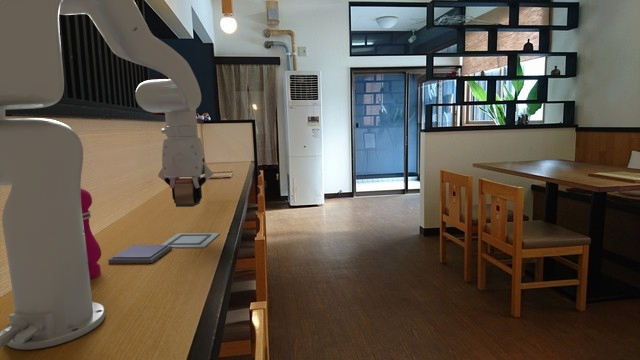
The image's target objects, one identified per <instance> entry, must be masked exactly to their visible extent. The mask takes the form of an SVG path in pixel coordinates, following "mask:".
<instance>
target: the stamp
mask: <svg viewBox="0 0 640 360" xmlns="http://www.w3.org/2000/svg"><path fill="white" fill-rule="evenodd" d="M194 186H195V185H194V182H193V179H192V177H180V179H177V180H176V184H174V189H175V203H174V204H175V208H185V207H186V208H187V207H188V208H189V207H190V208H191V207H196V206H197V205H199V204H200V203H201V201H200V202H198V203H194V194H193V188H195V187H194Z"/></svg>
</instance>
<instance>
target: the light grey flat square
mask: <svg viewBox="0 0 640 360" xmlns="http://www.w3.org/2000/svg"><path fill="white" fill-rule="evenodd" d="M219 235H220V233H219V232H209V233H208V232H204V233H203V232H199V233H198V232H197V233H195V232H193V233H191V232H190V233H187V232H183V233H179V232H178V233H177V234H175V235H173V236H172V237H170V238H169V239H167V240H166V241H164V242H163V243H161V244H160V245H171V249H184V248H186V249H188V248H189V249H197V248H198V249H201V248H202V249H203V248H206V247H207V246H208V245H209V244H211V242H212V241H213V240H214V239H216V238H217V237H218V236H219Z"/></svg>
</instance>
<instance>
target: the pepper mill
mask: <svg viewBox="0 0 640 360" xmlns="http://www.w3.org/2000/svg"><path fill="white" fill-rule="evenodd" d="M92 204H93V197H92V195H91V193H90V192H89V191H88V190H86V189H84V188H81V207H82V217H83V225H84V233H85V242H86V251H87V259H88V268H89V277H90V280H91V279H94V278H96V277H98V276H99V275H101V271H102V270H101V264H100V263H98V262H99V261H100V259H101V258H102V249H101V247H100V244H99V242H98V241H97V240H96V238H95V236H94V234H93V233H92V230H91V228H90V218H91V217H92V215H91V210H89V209H90V208H91V206H92Z"/></svg>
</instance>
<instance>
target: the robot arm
mask: <svg viewBox="0 0 640 360" xmlns="http://www.w3.org/2000/svg"><path fill="white" fill-rule="evenodd" d="M60 15H61V16H62V15H63V16H68V15H69V16H71V15H87V16H89V18H90V19H91V21H92V22H93V24H94V25H95V27H96V28H97V30H98V32H99V33H100V34H101V36H102V38H103V39H104V41H105V43H107V45H108V47H109V48H110V50H111V52H113V54H114V55H116V56H117V57H119V58H121V59H123V60H125V61H129V62H130V63H131V62H132V63H134V64H136V65H140V66H142V67H146V68H149V69H151V70H155V71H156V72H158V73H161V74H163V75H164V76H166V77H167V78H168V79H166V78H164V79H150V80H149V79H148V80H145V81H143V82H141V83H139V84H138V86H137V88H136V90H135V100H136V103H137V105H138V106H139V107H140V108H141V109H143V110H144V111H146V112H149V113H157V114H159V113H164V117H165V126H164V127H165V128H161V134H162V135H165V136H166V138H163V142H162V149H161V150H162V151H161V152H162V154H161V157H162V158H161V164H162V165H161V167H162V168H161V170H160V171H159V172H158V174H157V177H158V178H159V179H160V180H162V181H164V182H165V183H166V184H167V185H168V186H169V188H170V189H171V194H172V200H173V204H176V203H175V189H174V184H176V180H177V179H181V178H192V179H193V182H194V185H195V186H194V187H195V188H193V194H194V203H198V202H200V203H201V200H202V199H203V192H202V186H204V184H205V183H206V182H207V181H208V180H209V179H210V178H212V177H213V176H214V173H213V171H212V170H211V168H209V166H208V165H207V162H206V157H205V151H204V145H203V142H202V139H201V137H199V134H198V132H199V131H198V123H197V122H198V120H197V109H198V108H199V107H200V105H201V102H202V92H201V88H200V86H199V85H200V84H199V83H198V80H197V78H196V76H195V74H194V72H193V70H192V68H191V66H190V64H189V62H188V61H187V60H186V59H185V58H184V57H183V56H182V55H181V54H179V52H177V51H176V50H175V49H173V47H171V46H169V45H168V44H167V43H165V42H164V41H162V40H161V39H160V38H158V37H156V36H155V35H154V34H153V33H152V31H151V30H150V27H149V26H148V24H147V22H146V20H145V19H144V17H143V15H142V12H141V11H140V9H139V7H138V5H137V4H136V2H135V0H0V186H11V187H10V192H9V194H8V196H7V199H6V201H5V204H4V206H3V209H2V214H1V215H2V216H1V221H2V222H1V223H2V225H1V226H2V233H3V236H4V243H5V251H6V256H7V263H8V269H9V271H8V272H9V277H10V283H11V284H10V285H11V290H12V291H11V292H12V298H13V305H14V312H12V313H10V314H9V321H10V322H9V323H7V324H6V326H5V328H4V329H1V330H0V349H1V348H3V347H5V346H6V345H7V346H8V347H9V348H12V349H15V350H21V351H22V350H38V349H44V348H49V347H53V346H57V345H62V344H64V343H67V342H69V341H73V340H75V339H77V338H80V337H82V336H83V335H85V334H88V333H90V332H91V331H93V330H94V329H96V328H97V327H98V326H99V325H100V324H101V323H102V322H103V321H104V319H105V317H106V309H105V306H103V304H101V303H98V302H95V301H93V297H92V295H93V294H92V288H91V279H90V277H89V268H88V259H87V251H86V242H85V233H84V225H83V217H82V207H81V189H82V188H81V187H82V186H81V184H82V174H83V173H82V172H83V163H84V147H83V143H82V140H81V138H80V137H79V135H78V134H77V133H76V131H75V130H73V129H74V128H71V127H70V126H69V125H67V124H66V123H63V122H60V121H57V120H55V119H49V118H41V117H40V118H39V117H38V118H37V117H35V118H34V117H32V118H31V117H28V118H27V117H26V118H25V117H24V118H6V110H26V109H28V110H29V109H31V110H32V109H41V108H47V107H50V106H53V105H55V104H57V103H58V102H60V100H61V99H62V97H63V96H64V91H65V90H64V89H65V76H64V67H63V55H62V54H63V53H62V45H61V44H62V43H61V35H60V33H61V32H60ZM201 175H204V176H202V177H201Z"/></svg>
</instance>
